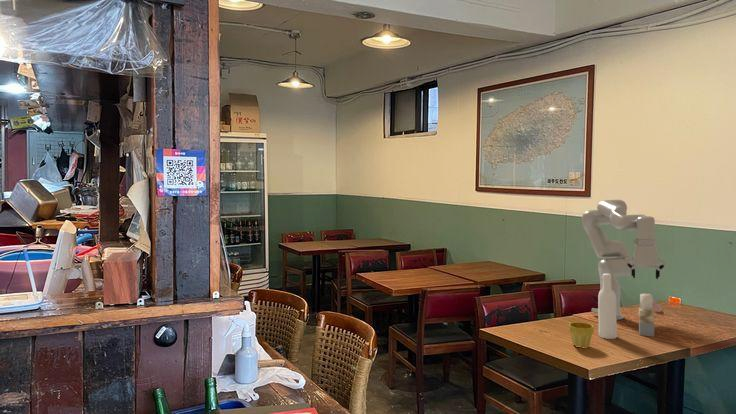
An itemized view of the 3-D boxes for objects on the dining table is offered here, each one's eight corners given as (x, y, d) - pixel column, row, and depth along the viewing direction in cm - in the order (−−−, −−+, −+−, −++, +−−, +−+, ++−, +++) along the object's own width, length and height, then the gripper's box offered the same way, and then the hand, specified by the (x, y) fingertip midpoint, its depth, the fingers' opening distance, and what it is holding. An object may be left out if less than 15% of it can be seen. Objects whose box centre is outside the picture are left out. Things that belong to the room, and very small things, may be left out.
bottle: (609, 340, 235) (608, 276, 233) (594, 336, 242) (593, 273, 240) (620, 337, 239) (619, 274, 237) (605, 333, 246) (605, 271, 244)
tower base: (639, 335, 241) (639, 322, 241) (638, 331, 246) (638, 319, 246) (654, 336, 238) (654, 323, 238) (653, 332, 244) (652, 320, 244)
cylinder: (640, 310, 240) (640, 295, 240) (639, 307, 245) (639, 293, 245) (653, 310, 238) (653, 296, 238) (652, 308, 243) (651, 293, 243)
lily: (651, 316, 274) (661, 302, 271) (633, 304, 283) (642, 290, 281) (662, 319, 280) (672, 305, 278) (644, 307, 290) (653, 293, 287)
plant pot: (599, 348, 225) (598, 326, 225) (579, 351, 222) (579, 329, 222) (583, 341, 235) (582, 320, 235) (564, 344, 232) (563, 323, 232)
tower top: (639, 322, 241) (639, 310, 240) (638, 319, 246) (638, 307, 246) (654, 323, 238) (654, 311, 238) (652, 320, 244) (652, 308, 243)
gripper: (625, 243, 240) (625, 278, 242) (667, 244, 233) (667, 280, 235) (624, 240, 247) (624, 275, 248) (665, 241, 240) (665, 277, 241)
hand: (645, 277), depth 242 cm, fingers open, 9 cm apart
